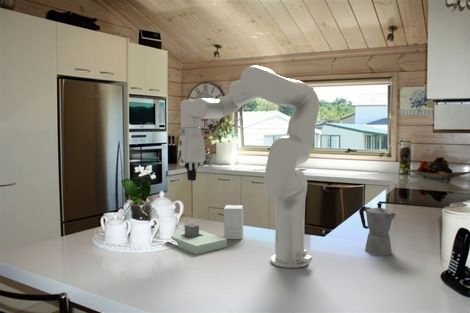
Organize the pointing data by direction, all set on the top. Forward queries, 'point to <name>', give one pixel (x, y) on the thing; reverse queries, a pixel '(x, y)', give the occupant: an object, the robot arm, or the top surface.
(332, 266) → the top surface
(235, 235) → the supplement box
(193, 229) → the plug
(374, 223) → the coffeepot
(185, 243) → the socket plate
